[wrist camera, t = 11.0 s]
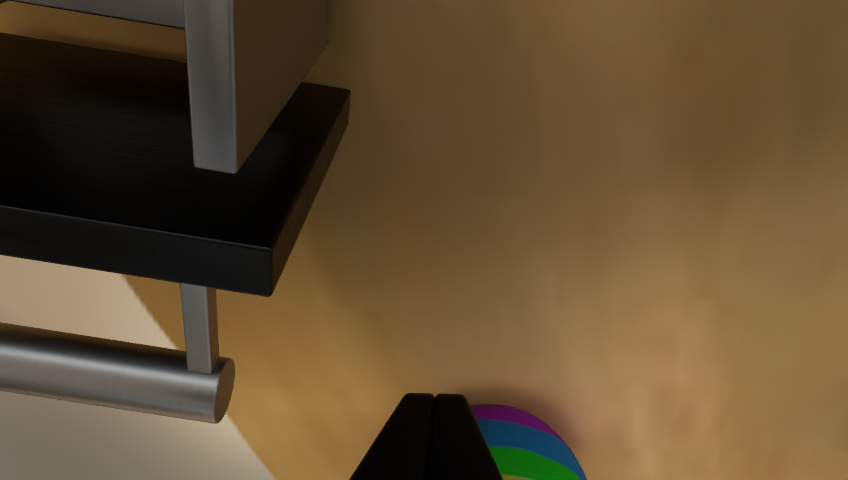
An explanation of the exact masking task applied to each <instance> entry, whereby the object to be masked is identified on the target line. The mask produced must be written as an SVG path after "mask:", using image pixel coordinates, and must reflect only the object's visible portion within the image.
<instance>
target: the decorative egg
mask: <svg viewBox="0 0 848 480" xmlns="http://www.w3.org/2000/svg"><path fill="white" fill-rule="evenodd" d="M470 408H471V410H472V412H473V414H474V416H475V419H476V421H477V423H478V425H479V427H480V430H481V432H482V434H483V436H484V438H485V441H486V443H487V445H488V447H489V449H490V452H491V454H492V456H493V458H494V460H495V463H496V465H497V467H498V469H499V471H500V473H501V476H502V478H503V480H587V479H586V477H585V474H584V472H583V470H582V468H581V466H580V464H579V463H578V461H577V459H576V457H575V456H574V454H573V453H572V451H571V450H570V448H569V447H568V446H567V444H566V443H565V442H564V441H563V440H562V439H561V438H560V436H559V435H558V434H557V433H556V432H555V431H553V430H552V429H551V428H550V427H549V426H548V425H547V424H545V423H544V422H543V421H541V420H540V419H538V418H536V417H535V416H533V415H531V414H529V413H527V412H525V411H523V410H520V409H516V408H513V407H509V406H503V405H478V406H472V407H470Z"/></svg>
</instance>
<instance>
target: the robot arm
mask: <svg viewBox="0 0 848 480" xmlns="http://www.w3.org/2000/svg"><path fill="white" fill-rule="evenodd" d="M349 480H503V478H502V476H501V473H500V471H499V469H498V467H497V465H496V463H495V460H494V458H493V456H492V454H491V452H490V449H489V447H488V445H487V443H486V441H485V438H484V436H483V434H482V432H481V430H480V427H479V425H478V423H477V421H476V419H475V416H474V414H473V412H472V410H471V408H470V406H469V403H468V401H467V399H466V398H465V396H464V395H461V394H438V395H437V396H436V397H434V396H433V395H432V394H430V393H408V394H406V395H405V396H404V397H403V398H402V399H401V401H400V403H399V404H398V406H397V407H396V409H395V410H394V412H393V413H392V415H391V416H390V418H389V419H388V421H387V422H386V424H385V426H384V427H383V429H382V430H381V432H380V433H379V435H378V436H377V438H376V439H375V441H374V442H373V444H372V445H371V447H370V449H369V450H368V452H367V453H366V455H365V456H364V458H363V459H362V461H361V462H360V464H359V465H358V467H357V468H356V470H355V472H354V473H353V475H352V476H351V478H350V479H349Z"/></svg>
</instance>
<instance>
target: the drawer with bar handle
mask: <svg viewBox="0 0 848 480" xmlns="http://www.w3.org/2000/svg"><path fill="white" fill-rule="evenodd" d="M7 1H14V2H21V3H27V4H33V5H39V6H45V7H51V8H57V9H63V10H69V11H75V12H81V13H87V14H93V15H99V16H105V17H112V18H118V19H124V20H130V21H136V22H142V23H148V24H154V25H160V26H166V27H172V28H178V29H184V30H185V42H186V57H187V63H184V62H178V61H172V60H166V59H159V58H153V57H147V56H141V55H135V54H129V53H123V52H117V51H111V50H105V49H98V48H92V47H86V46H80V45H74V44H68V43H62V42H56V41H50V40H44V39H37V38H31V37H25V36H19V35H13V34H7V33H1V32H0V255H6V256H11V257H18V258H24V259H31V260H37V261H43V262H50V263H56V264H62V265H68V266H75V267H81V268H88V269H94V270H100V271H107V272H113V273H119V274H126V275H132V276H138V277H145V278H151V279H157V280H164V281H170V282H176V283H180V288H181V300H182V311H183V322H184V334H185V345H186V351H181V350H175V349H168V348H162V347H155V346H149V345H143V344H136V343H130V342H123V341H117V340H110V339H103V338H97V337H91V336H84V335H78V334H72V333H65V332H58V331H52V330H46V329H40V328H33V327H27V326H20V325H14V324H7V323H1V322H0V391H6V392H12V393H19V394H26V395H32V396H38V397H45V398H51V399H58V400H65V401H71V402H77V403H85V404H90V405H97V406H103V407H110V408H116V409H123V410H129V411H137V412H142V413H149V414H156V415H162V416H169V417H176V418H182V419H188V420H195V421H201V422H208V423H215V424H216V423H219V422H220V421H221V420H222V418H223V417H224V415H225V413H226V411H227V408H228V405H229V402H230V399H231V395H232V391H233V386H234V380H235V364H234V361H233V359H231V358H226V357H220V356H219V340H218V320H217V299H216V289H221V290H227V291H234V292H240V293H246V294H253V295H259V296H265V297H269V296H271V295H272V293H273V291H274V289H275V287H276V285H277V282H278V280H279V278H280V276H281V273H282V271H283V269H284V267H285V264H286V262H287V260H288V258H289V255H290V253H291V251H292V249H293V247H294V244H295V242H296V240H297V238H298V235H299V233H300V231H301V229H302V226H303V224H304V222H305V220H306V217H307V215H308V213H309V211H310V208H311V206H312V204H313V202H314V199H315V197H316V195H317V193H318V190H319V188H320V186H321V184H322V182H323V179H324V177H325V175H326V173H327V170H328V168H329V166H330V164H331V161H332V159H333V157H334V155H335V152H336V150H337V148H338V146H339V143H340V141H341V139H342V137H343V134H344V132H345V130H346V128H347V126H348V120H349V108H350V96H351V92H350V90H348V89H342V88H336V87H330V86H324V85H318V84H312V83H306V82H302V81H303V79H304V78H305V76H306V75H307V74H308V72H309V71H310V69H311V68H312V67H313V65H314V64H315V62H316V61H317V60H318V58H319V57H320V55H321V54H322V52H324V50H325V49H326V47H327V46H328V44H329V34H330V17H331V0H0V4H1V3H4V2H7Z"/></svg>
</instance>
